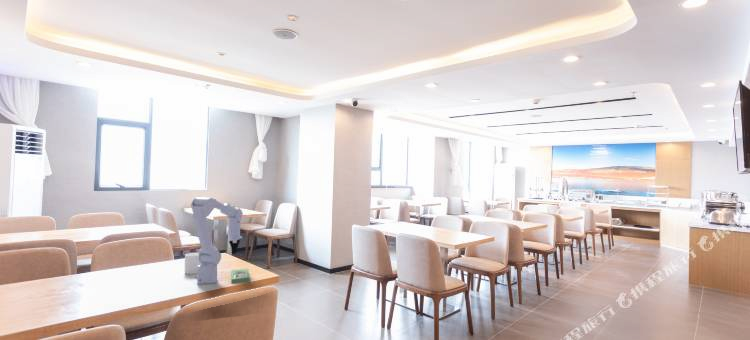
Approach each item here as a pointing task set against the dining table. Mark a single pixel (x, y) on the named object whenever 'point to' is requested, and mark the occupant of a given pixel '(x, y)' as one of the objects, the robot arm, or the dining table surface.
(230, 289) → the dining table surface
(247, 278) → the green
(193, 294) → the dining table surface
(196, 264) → the cup
